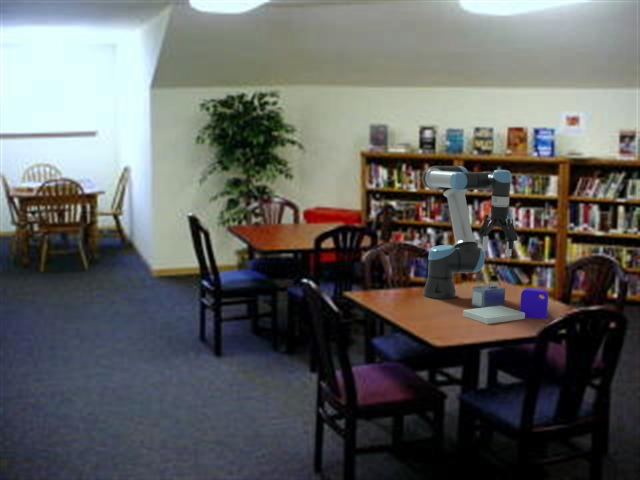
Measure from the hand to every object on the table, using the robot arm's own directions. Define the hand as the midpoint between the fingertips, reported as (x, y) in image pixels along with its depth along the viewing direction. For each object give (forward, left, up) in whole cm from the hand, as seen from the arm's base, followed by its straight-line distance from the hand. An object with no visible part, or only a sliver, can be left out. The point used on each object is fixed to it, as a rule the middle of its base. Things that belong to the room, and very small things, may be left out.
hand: (496, 253), depth 374 cm
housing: (-2, -1, -25) cm, 25 cm away
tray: (+14, -12, -24) cm, 31 cm away
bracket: (+16, +10, -25) cm, 31 cm away
